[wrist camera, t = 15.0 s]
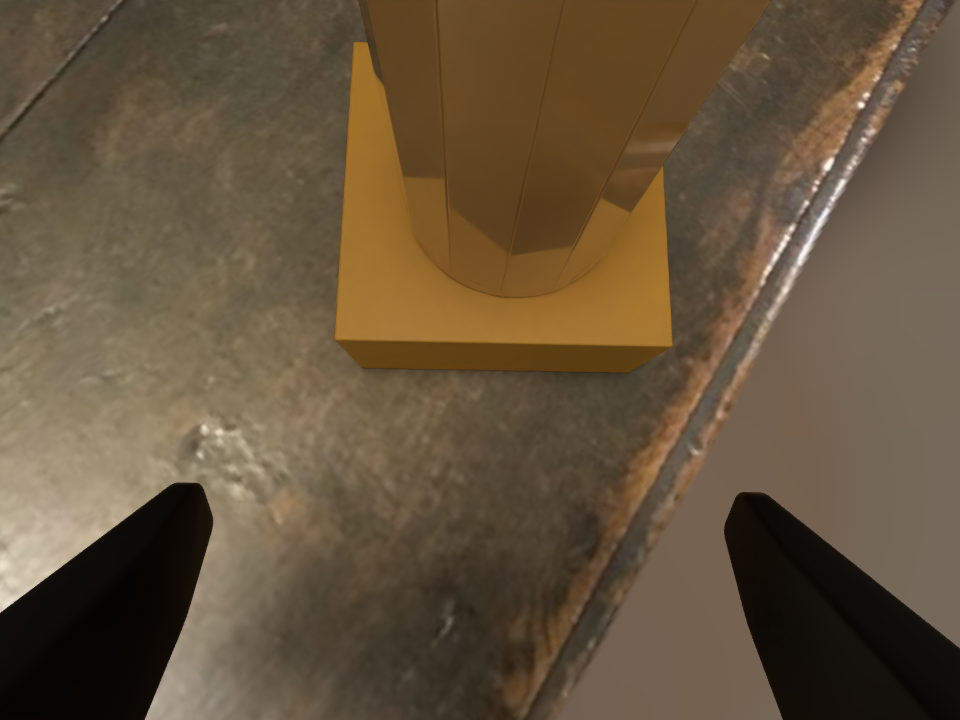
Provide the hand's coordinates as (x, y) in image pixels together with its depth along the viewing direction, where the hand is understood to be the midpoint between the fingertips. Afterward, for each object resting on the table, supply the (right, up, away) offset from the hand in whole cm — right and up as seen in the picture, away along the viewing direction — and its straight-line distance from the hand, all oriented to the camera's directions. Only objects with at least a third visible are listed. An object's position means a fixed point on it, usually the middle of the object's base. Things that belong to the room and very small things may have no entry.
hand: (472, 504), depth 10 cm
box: (+1, +7, +15) cm, 16 cm away
